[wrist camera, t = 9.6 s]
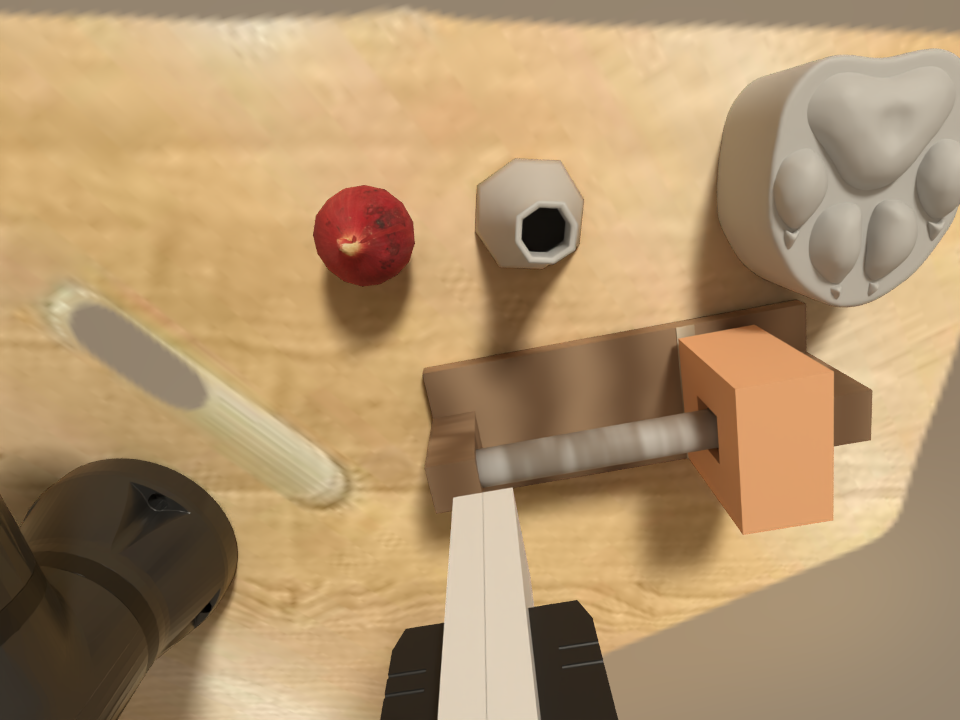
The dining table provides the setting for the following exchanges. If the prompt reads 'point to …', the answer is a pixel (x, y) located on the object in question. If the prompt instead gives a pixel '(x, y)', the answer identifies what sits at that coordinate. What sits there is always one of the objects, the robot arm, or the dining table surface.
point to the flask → (529, 214)
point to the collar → (762, 427)
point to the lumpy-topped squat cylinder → (842, 172)
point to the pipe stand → (592, 406)
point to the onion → (364, 235)
